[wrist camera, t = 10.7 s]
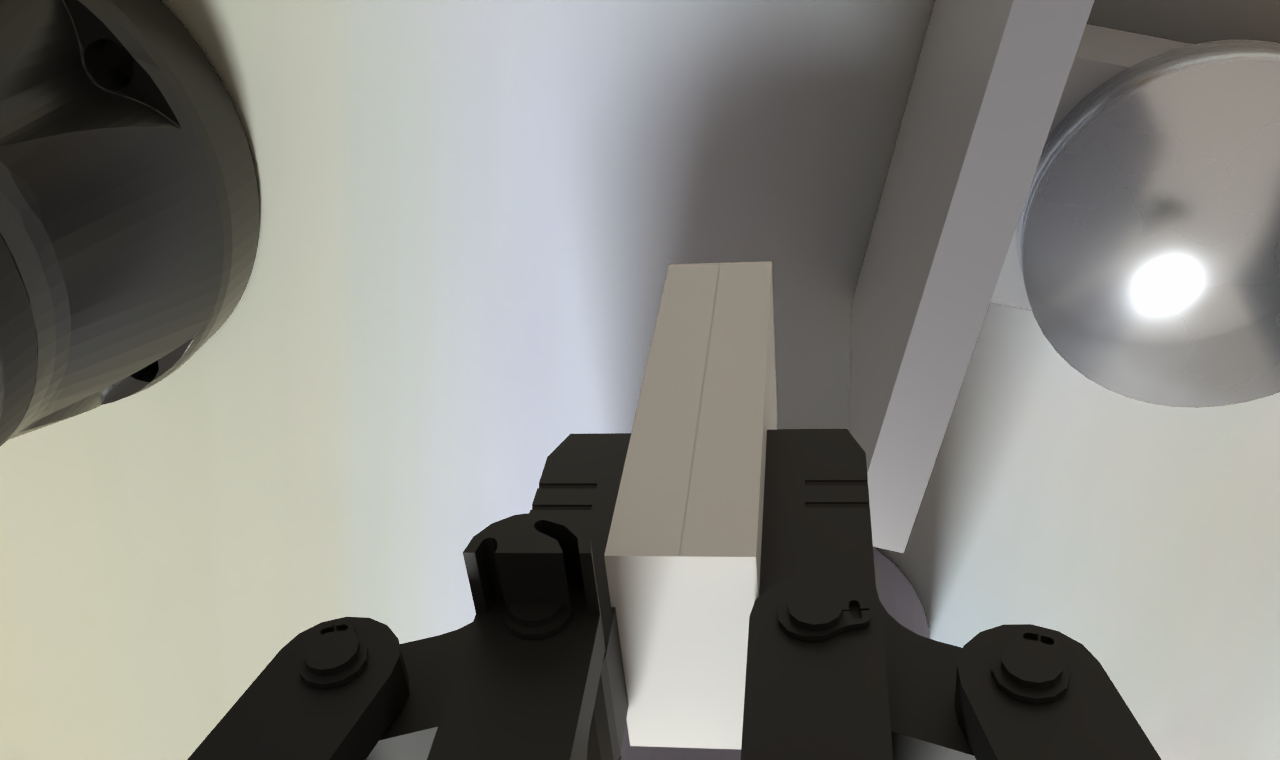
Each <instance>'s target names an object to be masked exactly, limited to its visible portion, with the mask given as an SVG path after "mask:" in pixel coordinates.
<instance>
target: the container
mask: <svg viewBox="0 0 1280 760" xmlns="http://www.w3.org/2000/svg"><path fill="white" fill-rule="evenodd" d="M873 554H874V567H875V580H876V589H877V593H878V596H879V600H880V602H881V603H882V605H883V606H884V608H885V609H886V611H887V612H888V614H890V615H891V616H892V617H893V618H894V619H895V620H896V621H897V622H898V623H899V624H901V625H902V626H904V627H906V628H907V629H909V630H911V631H913V632H914V633H916V634H918V635H921V636H923V637H926V638H929V639H930V637H929V627H928V624H927V620H926V616H925V612H924V608H923V605H922V604H921V602H920V600H919V598H918V596H917V594H916V592H915V590H914V588H913V586H912V584H911V583H910V582H909V581H908V579H907V578H906V577H905V576H904V575H903V574H902V572H901V571H900V570H899V569H898V568H897V566H896V565H895V564H894V563H893V562H891V561H890V560H889V559H888V558H886V557H885V556H884V555H883V554H881V553H880V552H879V551H878V550H877V549H875V548H874V547H873ZM621 756H622V760H741V749H710V748H678V747H647V746H630V741H629V734H628V726H627V719H626V724H625V730H624V736H623V742H622V748H621Z"/></svg>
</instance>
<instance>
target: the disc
mask: <svg viewBox="0 0 1280 760" xmlns="http://www.w3.org/2000/svg"><path fill="white" fill-rule="evenodd" d="M1015 230H1016V250H1017V256H1018V262H1019V267H1020V271H1021V275H1022V278H1023V282H1024V286H1025V289H1026V293H1027V297H1028V300H1029V302H1030V305H1031V308H1032V311H1033V314H1034V317H1035V319H1036V321H1037V322H1038V324H1039V326H1040V328H1041V330H1042V332H1043V334H1044V335H1045V337H1046V338H1047V339H1048V341H1049V342H1050V343H1051V345H1052V346H1053V347H1054V349H1055V350H1056V351H1057V352H1058V353H1059V354H1060V355H1061V356H1062V357H1063V358H1064V359H1065V360H1066V361H1067V362H1068V363H1069V364H1070V365H1071V366H1072V367H1073V368H1075V369H1076V370H1077V371H1079V372H1080V373H1081V374H1083V375H1084V376H1085V377H1087V378H1088V379H1090V380H1092V381H1094V382H1095V383H1097V384H1099V385H1101V386H1102V387H1104V388H1106V389H1108V390H1111V391H1113V392H1116V393H1118V394H1121V395H1123V396H1126V397H1129V398H1132V399H1136V400H1140V401H1144V402H1147V403H1152V404H1159V405H1166V406H1172V407H1196V408H1197V407H1213V406H1224V405H1230V404H1236V403H1242V402H1247V401H1251V400H1255V399H1259V398H1262V397H1266V396H1270V395H1273V394H1275V393H1278V392H1280V43H1276V42H1267V41H1259V40H1219V41H1211V42H1203V43H1196V44H1192V45H1188V46H1184V47H1180V48H1176V49H1172V50H1169V51H1166V52H1163V53H1161V54H1158V55H1155V56H1153V57H1150V58H1147V59H1145V60H1143V61H1141V62H1139V63H1137V64H1135V65H1133V66H1131V67H1130V68H1128V69H1126V70H1124V71H1122V72H1120V73H1118V74H1117V75H1115V76H1114V77H1112V78H1111V79H1109V80H1108V81H1106V82H1105V83H1103V84H1101V85H1100V86H1098V87H1097V88H1096V89H1095V90H1093V91H1092V92H1091V93H1090V94H1089V95H1087V96H1086V97H1085V98H1084V99H1083V100H1081V101H1080V102H1079V103H1078V104H1077V105H1076V106H1075V107H1074V108H1073V109H1072V110H1071V111H1070V112H1069V113H1068V114H1067V115H1066V116H1065V117H1064V118H1063V119H1062V120H1061V121H1060V122H1059V124H1058V125H1057V126H1056V128H1055V129H1054V130H1053V132H1052V133H1051V134H1050V136H1049V137H1048V138H1047V140H1046V142H1045V145H1044V148H1043V151H1042V154H1041V157H1040V160H1039V163H1038V166H1037V168H1036V171H1035V174H1034V177H1033V180H1032V183H1031V186H1030V189H1029V192H1028V194H1027V197H1026V200H1025V203H1024V206H1023V209H1022V212H1021V215H1020V218H1019V221H1018V223H1017V226H1016V229H1015Z"/></svg>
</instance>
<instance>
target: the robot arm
mask: <svg viewBox="0 0 1280 760" xmlns="http://www.w3.org/2000/svg"><path fill="white" fill-rule="evenodd" d="M259 214H260V210H259V195H258V187H257V180H256V174H255V169H254V165H253V160H252V156H251V153H250V149H249V146H248V142H247V139H246V136H245V133H244V130H243V128H242V125H241V122H240V120H239V117H238V115H237V113H236V110H235V108H234V106H233V103H232V101H231V99H230V97H229V95H228V93H227V91H226V89H225V87H224V85H223V84H222V82H221V80H220V78H219V77H218V75H217V73H216V72H215V70H214V68H213V66H212V65H211V63H210V62H209V60H208V59H207V57H206V56H205V54H204V53H203V51H202V50H201V48H200V47H199V46H198V44H197V43H196V42H195V40H194V39H193V38H192V36H191V35H190V34H189V32H188V31H187V30H186V29H185V27H184V26H183V25H182V24H181V23H180V21H179V20H178V19H177V18H176V17H175V16H174V14H173V13H172V12H171V11H170V10H169V9H168V8H167V7H166V6H165V5H164V4H163V3H162V2H161V1H160V0H0V446H1V445H2V444H3V443H5V442H6V441H7V440H8V439H11V438H14V437H17V436H20V435H22V434H25V433H28V432H31V431H34V430H36V429H39V428H42V427H45V426H48V425H50V424H53V423H56V422H59V421H62V420H64V419H67V418H70V417H73V416H76V415H78V414H81V413H84V412H86V411H89V410H92V409H94V408H96V407H98V406H100V405H103V404H107V403H111V402H115V401H117V400H120V399H122V398H125V397H128V396H131V395H133V394H136V393H138V392H140V391H142V390H145V389H147V388H149V387H150V386H152V385H154V384H156V383H157V382H159V381H161V380H162V379H164V378H165V377H167V376H168V375H170V374H171V373H172V372H174V371H175V370H177V369H178V368H179V367H180V366H181V365H182V364H184V363H185V362H186V361H187V360H188V359H189V358H190V357H191V356H192V355H193V354H194V353H195V352H196V351H197V350H198V349H199V348H200V347H201V346H202V345H203V344H204V343H205V342H206V341H207V340H208V339H209V338H211V337H212V336H213V335H214V334H215V333H216V331H217V330H218V329H219V328H220V327H221V326H222V325H223V324H224V323H225V321H226V320H227V319H228V317H229V316H230V315H231V314H232V312H233V311H234V309H235V307H236V306H237V304H238V302H239V301H240V299H241V297H242V295H243V293H244V291H245V289H246V286H247V283H248V281H249V278H250V275H251V272H252V269H253V265H254V261H255V257H256V251H257V246H258V237H259ZM463 555H464V560H465V564H466V569H467V573H468V578H469V583H470V587H471V592H472V596H473V601H474V606H475V610H476V616H475V619H474V622H472V623H470V624H468V625H466V626H464V627H462V628H460V629H458V630H455V631H452V632H449V633H446V634H442V635H439V636H435V637H430V638H426V639H422V640H417V641H413V642H408V643H404V644H399V640H398V638H397V637H396V636H395V634H394V633H393V632H392V631H391V629H390V628H389V627H388V626H387V625H385V624H383V623H380V622H378V621H375V620H373V619H371V618H358V617H344V618H340V619H335V620H331V621H326V622H322V623H320V624H318V625H316V626H314V627H312V628H310V629H308V630H306V631H304V632H302V633H300V634H298V635H297V636H296V637H295V638H294V639H293V640H291V641H290V642H289V643H288V644H287V645H286V646H284V647H283V648H282V649H281V650H280V651H279V652H278V654H277V655H276V656H275V657H274V658H273V660H272V661H271V662H270V663H269V664H268V665H267V667H266V668H265V669H264V670H263V671H262V673H261V674H260V675H259V676H258V677H257V678H256V680H255V681H254V682H253V683H252V684H251V685H250V687H249V688H248V689H247V690H246V691H245V693H244V694H243V695H242V696H241V697H240V698H239V700H238V701H237V702H236V703H235V704H234V705H233V707H232V708H231V709H230V710H229V711H228V713H227V714H226V715H225V716H224V717H223V718H222V720H221V721H220V722H219V723H218V724H217V726H216V727H215V728H214V729H213V730H212V731H211V733H210V734H209V735H208V736H207V737H206V738H205V740H204V741H203V742H202V743H201V744H200V746H199V747H198V748H197V749H196V750H195V751H194V753H193V754H192V755H191V756H190V757H189V758H188V760H622V756H621V748H622V742H623V736H624V730H625V724H626V719H627V726H628V734H629V741H630V746H647V747H678V748H710V749H741V760H1161V758H1160V757H1159V755H1158V754H1157V752H1156V750H1155V749H1154V747H1153V746H1152V744H1151V743H1150V741H1149V739H1148V738H1147V736H1146V735H1145V733H1144V732H1143V730H1142V728H1141V727H1140V725H1139V724H1138V722H1137V721H1136V719H1135V717H1134V716H1133V714H1132V713H1131V711H1130V710H1129V708H1128V706H1127V705H1126V703H1125V702H1124V700H1123V699H1122V697H1121V695H1120V694H1119V692H1118V691H1117V689H1116V688H1115V686H1114V684H1113V683H1112V681H1111V680H1110V678H1109V677H1108V675H1107V673H1106V672H1105V670H1104V669H1103V667H1102V666H1101V664H1100V663H1099V662H1098V660H1097V659H1096V658H1095V657H1094V656H1093V655H1092V654H1091V653H1090V652H1089V651H1088V650H1087V649H1086V648H1085V647H1084V646H1083V645H1082V644H1080V643H1079V642H1077V641H1075V640H1073V639H1071V638H1070V637H1068V636H1066V635H1064V634H1062V633H1060V632H1059V631H1055V630H1051V629H1047V628H1043V627H1039V626H1035V625H1001V626H998V627H995V628H992V629H989V630H986V631H983V632H980V633H979V634H978V635H976V636H975V637H974V638H973V639H972V640H970V641H969V642H968V643H967V644H966V645H964V647H963V648H961V647H957V646H953V645H949V644H945V643H941V642H938V641H935V640H932V639H929V638H926V637H923V636H921V635H918V634H916V633H914V632H913V631H911V630H909V629H907V628H906V627H904V626H902V625H901V624H899V623H898V622H897V621H896V620H895V619H894V618H893V617H892V616H891V615H890V614H888V612H887V611H886V609H885V608H884V606H883V605H882V603H881V602H880V600H879V596H878V593H877V589H876V580H875V567H874V554H873V541H872V528H871V515H870V505H869V489H868V476H867V463H866V453H865V451H864V450H863V449H862V447H861V446H860V445H859V444H858V442H857V441H856V440H855V439H854V437H853V436H852V435H851V433H850V432H849V431H848V430H847V429H781V430H777V393H776V365H775V336H774V308H773V280H772V261H762V262H729V263H695V264H669V266H668V271H667V275H666V280H665V284H664V289H663V293H662V298H661V302H660V307H659V311H658V316H657V320H656V325H655V329H654V334H653V338H652V343H651V347H650V352H649V356H648V361H647V365H646V370H645V374H644V379H643V383H642V388H641V392H640V397H639V401H638V406H637V410H636V415H635V419H634V424H633V428H632V433H626V434H570V435H569V436H568V437H567V438H566V439H565V440H564V441H563V442H562V443H561V444H560V445H559V446H558V447H557V448H556V449H555V450H554V451H553V452H552V453H551V454H550V455H549V456H548V457H547V460H546V464H545V467H544V470H543V473H542V476H541V479H540V482H539V489H537V492H536V495H535V498H534V501H533V504H532V510H530V513H529V514H521V515H514V516H511V517H509V518H506V519H503V520H501V521H498V522H495V523H492V524H491V525H489V526H488V527H487V528H485V529H484V530H482V531H481V532H480V533H478V534H477V535H475V536H474V537H473V539H472V540H471V541H470V543H469V544H468V546H467V547H466V549H465V550H464V552H463Z"/></svg>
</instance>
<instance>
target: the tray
mask: <svg viewBox="0 0 1280 760" xmlns="http://www.w3.org/2000/svg"><path fill="white" fill-rule="evenodd" d="M1093 3H1094V0H935V3H934V7H933V10H932V14H931V17H930V21H929V25H928V28H927V32H926V36H925V39H924V43H923V47H922V50H921V54H920V58H919V61H918V65H917V68H916V72H915V76H914V79H913V83H912V87H911V90H910V94H909V98H908V101H907V105H906V109H905V112H904V116H903V119H902V123H901V127H900V130H899V134H898V138H897V141H896V145H895V149H894V152H893V156H892V160H891V163H890V167H889V170H888V174H887V178H886V181H885V185H884V189H883V192H882V196H881V200H880V203H879V207H878V211H877V214H876V218H875V221H874V225H873V229H872V232H871V236H870V240H869V243H868V247H867V251H866V254H865V258H864V262H863V265H862V269H861V272H860V276H859V280H858V283H857V287H856V291H855V294H854V298H853V302H852V313H851V359H850V404H849V432H850V433H851V435H852V436H853V437H854V439H855V440H856V441H857V442H858V444H859V445H860V446H861V447H862V449H863V450H864V451H865V453H866V463H867V476H868V489H869V505H870V515H871V528H872V541H873V547H877V548H881V549H886V550H890V551H895V552H899V553H904V551H905V548H906V545H907V542H908V539H909V536H910V533H911V530H912V527H913V525H914V522H915V519H916V516H917V513H918V510H919V507H920V504H921V501H922V499H923V496H924V493H925V490H926V487H927V484H928V481H929V478H930V475H931V472H932V470H933V467H934V464H935V461H936V458H937V455H938V452H939V449H940V446H941V443H942V441H943V438H944V435H945V432H946V429H947V426H948V423H949V420H950V417H951V415H952V412H953V409H954V406H955V403H956V400H957V397H958V394H959V391H960V388H961V386H962V383H963V380H964V377H965V374H966V371H967V368H968V365H969V362H970V360H971V357H972V354H973V351H974V348H975V345H976V342H977V339H978V336H979V333H980V331H981V328H982V325H983V322H984V319H985V316H986V313H987V310H988V307H989V305H990V302H992V303H996V304H1001V305H1006V306H1011V307H1016V308H1021V309H1026V310H1030V311H1032V308H1031V305H1030V302H1029V300H1028V297H1027V293H1026V289H1025V286H1024V282H1023V278H1022V275H1021V271H1020V267H1019V262H1018V256H1017V250H1016V230H1015V229H1016V226H1017V223H1018V221H1019V218H1020V215H1021V212H1022V209H1023V206H1024V203H1025V200H1026V197H1027V194H1028V192H1029V189H1030V186H1031V183H1032V180H1033V177H1034V174H1035V171H1036V168H1037V166H1038V163H1039V160H1040V157H1041V154H1042V151H1043V148H1044V145H1045V142H1046V140H1047V138H1048V137H1049V136H1050V134H1051V133H1052V132H1053V130H1054V129H1055V128H1056V126H1057V125H1058V124H1059V122H1060V121H1061V120H1062V119H1063V118H1064V117H1065V116H1066V115H1067V114H1068V113H1069V112H1070V111H1071V110H1072V109H1073V108H1074V107H1075V106H1076V105H1077V104H1078V103H1079V102H1080V101H1081V100H1083V99H1084V98H1085V97H1086V96H1087V95H1089V94H1090V93H1091V92H1092V91H1093V90H1095V89H1096V88H1097V87H1098V86H1100V85H1101V84H1103V83H1105V82H1106V81H1108V80H1109V79H1111V78H1112V77H1114V76H1115V75H1117V74H1118V73H1120V72H1122V71H1124V70H1126V69H1128V68H1130V67H1131V66H1133V65H1135V64H1137V63H1139V62H1141V61H1143V60H1145V59H1147V58H1150V57H1153V56H1155V55H1158V54H1161V53H1163V52H1166V51H1169V50H1172V49H1176V48H1180V47H1184V46H1188V45H1192V44H1190V43H1184V42H1179V41H1174V40H1168V39H1163V38H1158V37H1153V36H1147V35H1142V34H1137V33H1131V32H1126V31H1121V30H1116V29H1110V28H1105V27H1100V26H1094V25H1089V24H1087V21H1088V18H1089V15H1090V12H1091V9H1092V6H1093Z"/></svg>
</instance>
